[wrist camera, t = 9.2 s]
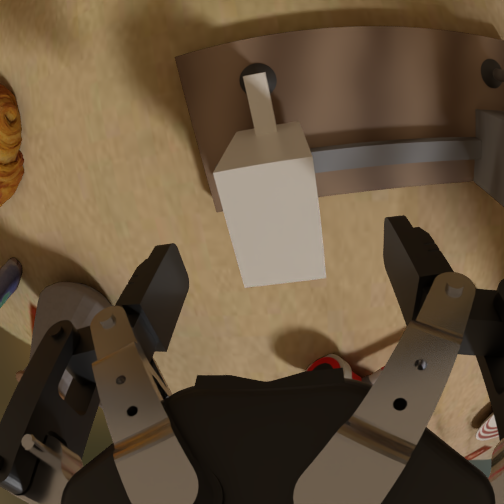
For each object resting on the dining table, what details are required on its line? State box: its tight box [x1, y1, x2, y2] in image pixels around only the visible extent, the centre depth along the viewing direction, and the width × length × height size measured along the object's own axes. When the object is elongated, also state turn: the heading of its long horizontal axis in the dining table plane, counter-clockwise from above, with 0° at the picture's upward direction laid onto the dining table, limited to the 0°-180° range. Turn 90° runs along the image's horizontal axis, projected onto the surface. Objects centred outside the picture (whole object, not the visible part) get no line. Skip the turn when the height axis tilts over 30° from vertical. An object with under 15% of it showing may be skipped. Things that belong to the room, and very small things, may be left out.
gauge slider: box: [213, 72, 326, 288], centre depth 16 cm, size 4×10×9 cm, turn 12°
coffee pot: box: [16, 282, 112, 409], centre depth 28 cm, size 21×12×15 cm, turn 75°
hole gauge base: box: [175, 26, 504, 212], centre depth 17 cm, size 26×12×8 cm, turn 102°
